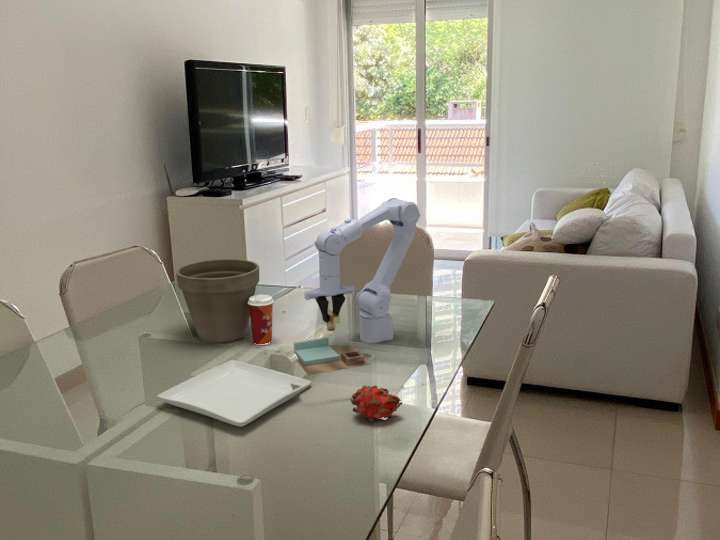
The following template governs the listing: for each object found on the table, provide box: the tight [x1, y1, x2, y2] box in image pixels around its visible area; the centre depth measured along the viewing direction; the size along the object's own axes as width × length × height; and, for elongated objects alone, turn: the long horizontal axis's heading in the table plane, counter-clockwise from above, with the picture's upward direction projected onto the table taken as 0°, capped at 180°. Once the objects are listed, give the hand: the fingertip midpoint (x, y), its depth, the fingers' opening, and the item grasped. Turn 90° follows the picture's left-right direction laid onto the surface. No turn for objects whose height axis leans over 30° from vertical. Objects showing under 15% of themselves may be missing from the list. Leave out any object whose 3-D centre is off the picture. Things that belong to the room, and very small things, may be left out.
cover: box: [293, 336, 340, 365], centre depth 194 cm, size 10×10×3 cm
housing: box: [296, 344, 372, 376], centre depth 193 cm, size 18×16×4 cm
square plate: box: [156, 359, 313, 428], centre depth 172 cm, size 27×27×4 cm
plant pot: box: [175, 258, 260, 344], centre depth 214 cm, size 25×25×22 cm
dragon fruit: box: [350, 385, 403, 422], centre depth 162 cm, size 8×8×12 cm
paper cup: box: [248, 294, 275, 344], centre depth 209 cm, size 8×8×14 cm
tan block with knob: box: [326, 308, 341, 332], centre depth 199 cm, size 7×2×5 cm, turn 30°
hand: (330, 320), depth 199 cm, fingers closed on tan block with knob, 2 cm apart
